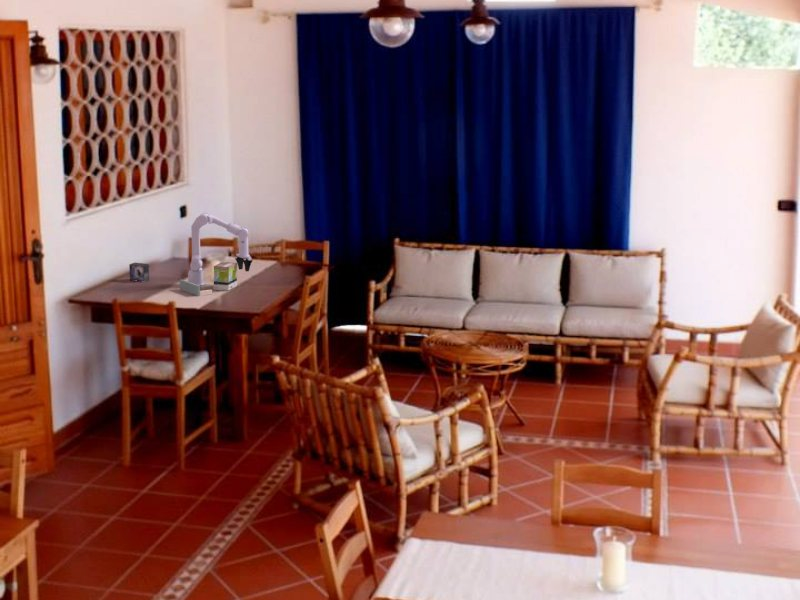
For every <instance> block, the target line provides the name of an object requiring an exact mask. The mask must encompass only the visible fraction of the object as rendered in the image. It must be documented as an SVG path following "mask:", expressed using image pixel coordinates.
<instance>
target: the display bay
mask: <svg viewBox="0 0 800 600" xmlns="http://www.w3.org/2000/svg"><path fill="white" fill-rule="evenodd" d="M179 290H180V291H184V292H185V293H189V294H191V295H195V296H196V297H199V296H207V295H213V290H212V289H207V290H201V285H200V286H199V285H196V284H193V283H190V282H188V280H184V279H181V278H180V279H179Z"/></svg>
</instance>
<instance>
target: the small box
mask: <svg viewBox="0 0 800 600" xmlns="http://www.w3.org/2000/svg"><path fill="white" fill-rule="evenodd" d="M149 266H150V265H149V263H142V262H141V263H140V262H133V263H130V264H129V266H128V267H129V280H130V279H131V280H137V281H136V282H139V281H146V282H148V281H147V280H149V281H150V267H149Z"/></svg>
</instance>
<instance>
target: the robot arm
mask: <svg viewBox="0 0 800 600" xmlns="http://www.w3.org/2000/svg"><path fill="white" fill-rule="evenodd" d="M207 224H208V225H211V224H214V225H218V226H220V227H222V228H225V229H226V231H227V232H229V233H230V234H233V235H235V236H237V237H238V253H236V254H235V255H236V256H235V258H234V259H235V262H236V263H237V268H238V270H243V269H244V270H245V271H244V272H249V271H250V267H251V264H252V262H253V259H252V256H251V255H250V254H249V237H248V236H249V230H248V229H247V228H246V227H243V225H241V226H239V225H238V224H236V222H229V223H228V222H226V221H225V220H222V219H221V218H219V217H217V216H215V215H213V214H211V213H208V212H203V213H201V214H200V215H198V216H197V217H196V218H195V220H194V221H193V223H192V225H191V229H190V230H191V260H190V265H189V266H190V270H189V271H188V272H187V275H188V276H187V278H188V279H187V281H188V282H190V283H193V284H196V285H199V286H200V287H201V286H206V285H207V284H206V283H204V279H203V278H204V274H203V273H204V272H203V270H204V269H203V268H202V267H203V265H204V263H203V260H202V254H201V233H200V232H201V231H200V229H201V228H203V226H206V225H207ZM243 267H244V268H243Z"/></svg>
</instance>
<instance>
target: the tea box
mask: <svg viewBox="0 0 800 600" xmlns="http://www.w3.org/2000/svg"><path fill="white" fill-rule="evenodd" d="M237 286H238V264H237V262H231V261H230V262H226V261H222V262H219V263H217V264H215V265H214V266H213V290H215V291H216V290H217V291H230V290H231V289H234V288H236V287H237Z"/></svg>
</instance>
